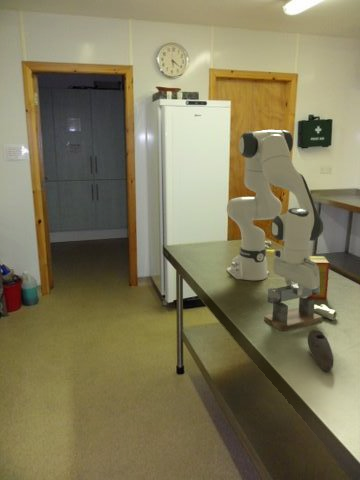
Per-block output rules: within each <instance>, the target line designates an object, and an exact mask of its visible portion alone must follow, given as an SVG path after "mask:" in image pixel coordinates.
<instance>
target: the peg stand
mask: <svg viewBox="0 0 360 480" xmlns="http://www.w3.org/2000/svg"><path fill="white" fill-rule="evenodd" d="M298 299H299V300H298V307H296V308H292V309H289V305H287V304H285V303H283V302H280V303H278V304H272V313H270V314H266V315H264V316H263V320H264V321H265V322H267V323H268V324H270V325H272V326H273V327H274V328H277V330H280V331H281V332H283V331H288V330H292V329H296V328H299V327H303V326H307V325H311V324H315V323H318V322H322V321H323V317H322V316H320V315H318V314H316V313H314V305H315V300H316V299H312V298H310V297H309V296H305V297H301V298H298Z"/></svg>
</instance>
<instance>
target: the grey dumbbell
mask: <svg viewBox="0 0 360 480" xmlns="http://www.w3.org/2000/svg"><path fill="white" fill-rule="evenodd" d="M298 288H299V287H298V284H297V283H295V284H292V285H290V286H287V285H284V286H280V287H276V288H273V287H272V288H269V289H267V303H268V304H272V305H273V304H278V303H280V302H282V303H283V302H287V301H291V300H295V299H299V298H301V297H305V296H308V297H309V296H310V295H318V294H319V292H320V284H319V287H318V288H316V289H308V288H306V287H304V289H303V290H302V295H300V296H298V295H296V294H295V293H296V292H295V290H297V289H298Z"/></svg>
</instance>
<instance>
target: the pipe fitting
mask: <svg viewBox="0 0 360 480" xmlns="http://www.w3.org/2000/svg"><path fill="white" fill-rule="evenodd" d="M314 313H316V314H318V315H320V316H322V318H326V319H329V320H332V321H335V320H336V319H337V314H338V313H337V310H335V309H330V307H328V306H327V305H326V304H325V303H322V304H319V305H318V304H314Z"/></svg>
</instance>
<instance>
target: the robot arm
mask: <svg viewBox="0 0 360 480" xmlns="http://www.w3.org/2000/svg"><path fill="white" fill-rule="evenodd" d="M238 142H239V143H238V150H239V152H240V155H241V156H242V157H243V158H245V164H244V175H243V176H244V178H243V183H244V186H245V187H246V189H248V190H249V191H252V192H254V193H255V196H239V197H235V198H231V199H230V200H229V201H228V203H227V205H226V213H227V216H228V217H229V218H230V219H231V220H232V221H233V222H235V223H236V225H237V226H238V228H239V230H240V235H241V247H240V248H238V250H239V253H238V255H237V256H235V257H233V258H232V260H231V266H229V267H227V268H226V272H228V273H229V274H230V275H231V276H232V277H234V279H236V280H243V281H244V280H246V281H262V280H265V279H268V275H269V273H270V272H269V270H268V261H267V260H268V259H267V257H266V256H267V250H266V249H267V248H266V233H265V231H264V229H262V228H261V227H259V226H256V225H255V224H254V221H262V220H263V221H264V220H267V221H268V220H272V221H271V225H270V233H271V236H272V237H273V238H275V240H277V241H280V242H281V241H282V242H284V243H283V248H278V249H275V250H274V251H273V255H274V257H273V264H272V265H273V267H272V270H273V273H274V274H275V275H278V276H280V277H282V278H284V282H285V284H286V285H285V286H290V285H293V283H295V284H298V287H299V288H298V289H297V290H295V292H296V293H295V294H296V295H298V296H300V295H302V290H303V289H304V287H306V288H308V289H316V288H318V287H319V284H320V278H319V269H318V266H317V264H316V263H315V262H314V261H310V260H309V259H310V256H311V245H310V241H316V240H317V239H319V237H321V235H322V234H323V232H324V222H323V219H322V217H321V216H320V214H319V212H318V210H317V207H316V205H315V202H314V200H313V197H312V193H311V190H310V189H309V187H308V183H307V181H306V178H305V177H304V176H303V174H301V173H300V172H299V171H298V170H297V169H296V168H295V166H294V164H293V161H292V157H291V156H292V155H291V152H292V150H293V147H294V138H293V135H292V133H291V132H290V131H288V130H284V129H280V130H278V129H277V130H275V129H265V130H258V131H247V132H246V131H245V132H243V133H242V134H241V136H240V137H239V141H238ZM270 185H273V186H275V187H278V188H280V189H284V190H287V191H289V192H290V193H292V194H293V195H294V196H295V197H296V200H297V203H298V206H299V207H292V208H289V209H287V211H286V213H283V214H282V211H283V204H282V201H281V200H280V199H279V198H278V197H277V196H275V194H274V193H273V191H272V189H271V186H270Z"/></svg>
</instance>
